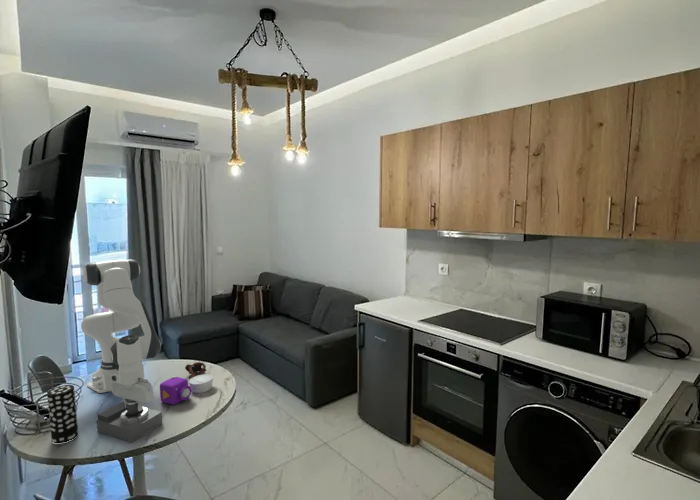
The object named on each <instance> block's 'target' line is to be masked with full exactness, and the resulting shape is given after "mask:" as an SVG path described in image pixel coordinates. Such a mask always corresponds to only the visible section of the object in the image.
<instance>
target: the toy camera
mask: <svg viewBox="0 0 700 500" xmlns="http://www.w3.org/2000/svg"><path fill="white" fill-rule="evenodd" d="M192 393H193V391H192V389H191V387H190V385H189V381H188V379H187V378H184V377H181V376H180V377H179V376H176V375H173V376H172V377H170V378H169V379H166V380H165V381H162V382H161V383H160V384H159V394H160V395H159V396H160V397H159V398H160V402H162V403H165V404H169V405H176V404H179V403H180V402H182V401H186V400H188V399H189V398H190V396H191V395H192Z"/></svg>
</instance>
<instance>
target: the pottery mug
mask: <svg viewBox="0 0 700 500" xmlns="http://www.w3.org/2000/svg"><path fill="white" fill-rule="evenodd" d="M184 368H185V369H184V370H186V371H187V372H188V373H189V375H191V376H190V379H191V378H193V377H195V376H198V375H203V374H205V372H207V371H208V370H207V369H206V368H207V366H206V365H205V364H204V363H203V362H201V361H200V362H194V363H193V364H189V363H188V364H186V365H185V367H184Z"/></svg>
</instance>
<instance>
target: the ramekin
mask: <svg viewBox="0 0 700 500" xmlns="http://www.w3.org/2000/svg"><path fill="white" fill-rule="evenodd" d="M213 382H214V376H213V375H212V374H207V373H206V374H205V373H204V374H202V375H198V376H195V377H193V378H191V377H190V379H189V381H188V385H189V386H190V387H191V389H192V393H194V394H202V392H203V393H206V392H208V391H210V390H211V389H212V387H213ZM205 391H206V392H205Z"/></svg>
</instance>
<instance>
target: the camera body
mask: <svg viewBox="0 0 700 500" xmlns="http://www.w3.org/2000/svg"><path fill="white" fill-rule="evenodd" d="M96 416H97V419H96V427H97V432H99V433H102V434H105V435H107V436H111V437H114V438H116V439H117V438H118V439H119V440H123V441H126V442H129V443H133V442H135V441H136V440H139V438H141V437H142V436H145V435H147V434H148V433H149V432H151V431H152V430H154V429H155V428H157V427H159V426H161V425H163V414H162V411H160V410H155V409H152V408H149V407H146V406H143V409H142V410H141V414H139V415H138V416H134V417H127V408H126V407H125V403H124V401H123V400H122V401H121V402H119V403H117V404H115V405H112V406H111V407H109V408H107V409H105V410H103V411H101V412H99V413H97V414H96Z"/></svg>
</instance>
